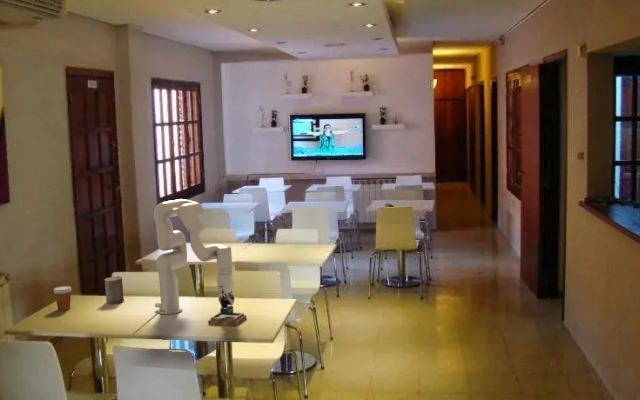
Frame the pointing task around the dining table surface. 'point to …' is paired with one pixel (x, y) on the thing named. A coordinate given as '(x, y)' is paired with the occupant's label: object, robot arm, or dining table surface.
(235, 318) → the stand
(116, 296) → the pillar candle
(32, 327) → the dining table surface
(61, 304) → the disposable coffee cup
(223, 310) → the watch
